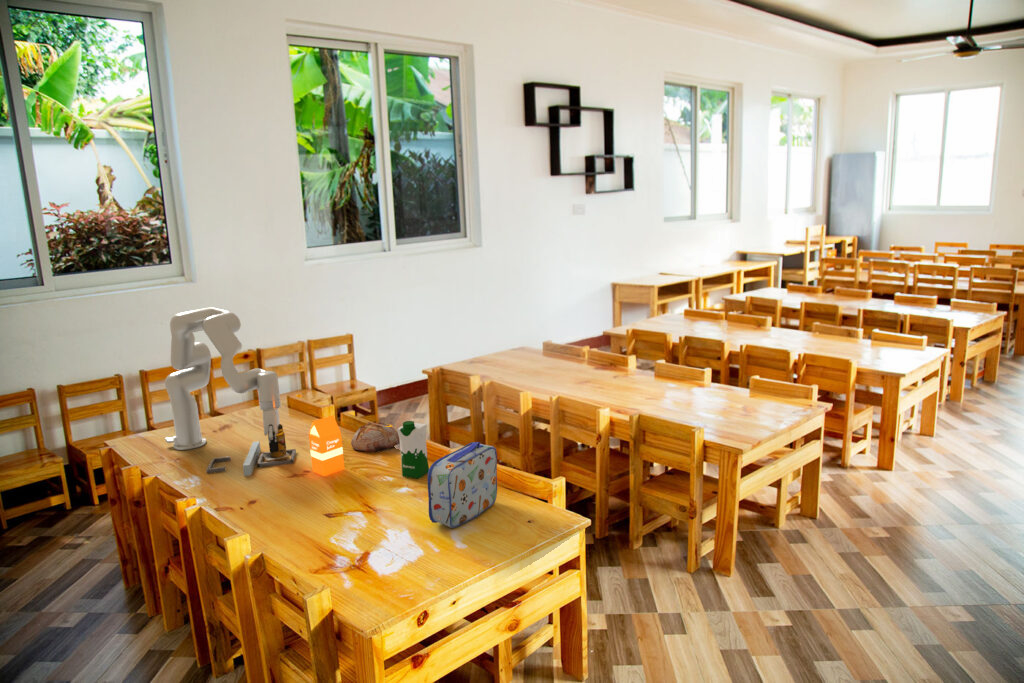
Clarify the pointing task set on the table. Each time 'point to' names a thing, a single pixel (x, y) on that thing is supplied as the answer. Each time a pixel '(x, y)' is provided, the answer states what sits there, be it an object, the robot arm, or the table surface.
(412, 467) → the milk carton
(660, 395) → the table surface
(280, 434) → the condiment
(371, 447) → the bread
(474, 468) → the lunch box
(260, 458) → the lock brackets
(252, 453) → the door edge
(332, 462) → the orange juice
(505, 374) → the table surface
